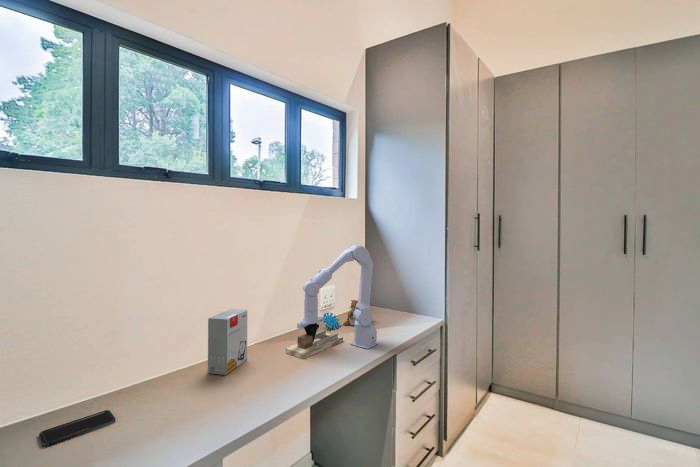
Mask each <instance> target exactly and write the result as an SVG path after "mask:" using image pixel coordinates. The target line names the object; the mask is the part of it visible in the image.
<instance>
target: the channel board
mask: <svg viewBox="0 0 700 467" xmlns="http://www.w3.org/2000/svg"><path fill="white" fill-rule="evenodd" d="M343 342H344V337H343V336H339V334H338V333H337V332H336V333H334V334H333V333H329V332H327V330H322V331H318V332H316V335H315V338H314V342H312V347H310V348H307V349H302V348H299V347H297V343H295V344H294V345H290V346H288V347H285V354H287V355H290V356H294V357H296V358H299V359H303V360H304V359H306V358H309V357H311V356H313V355H315V354H318V353H320V352H321V351H325V350H327V349H329V348H332V347H333V346H336V345H338V344H340V343H343Z"/></svg>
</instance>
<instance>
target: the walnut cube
mask: <svg viewBox="0 0 700 467" xmlns="http://www.w3.org/2000/svg"><path fill="white" fill-rule="evenodd" d="M312 337H313V336H311V335H307V334H306V333H304V334H300V335H298V336H297V338H296V339H297V342H296V344H297V347H299V348H302V349H307V348H310V347H312Z"/></svg>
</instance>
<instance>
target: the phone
mask: <svg viewBox="0 0 700 467" xmlns="http://www.w3.org/2000/svg"><path fill="white" fill-rule="evenodd" d="M115 423H116V417H115V416H114V415H113V413H112V412H111V410H109V409H107V410H102V411H99V412H96V413H93V414H91V415H90V414H89V415H87V416H84V417H81V418H77V419H75V420H71V421H70V422H69V421H68V422H66V423H62V424H60V425H57V426H53V427H51V428H48V429H44V430H42V431H40V432H39V434H38V437H40V438H39V442H40V444H42V445H41V447H42V448H44V447H45V448H50V447H52V446H55V445H57V443H58V444H61V443H63V442H65V440H66V441H69V440H71V438H72V439H74V437H75V438H77V437H79V436H82V435H86V434H88V433H91V432H93V431H96V430H99V429H103V428H105V427H107V426H111V425H113V424H115ZM68 439H69V440H68ZM60 442H61V443H60Z"/></svg>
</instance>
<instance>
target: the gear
mask: <svg viewBox="0 0 700 467" xmlns="http://www.w3.org/2000/svg"><path fill="white" fill-rule="evenodd" d="M322 316H323V317H324V321H322V323H323V324H324V323H325V324H324V326H326V328H327V327H328V326H329V327H328V329H329V330H334V329H335V330H336V329H338V328H339V327H340V322H339V321H340V320H341V318H340V317H339V318H337V315H335V314H333V313H332V312H329V311H327V312H326V313H325V312H324V313H323V315H322Z"/></svg>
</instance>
